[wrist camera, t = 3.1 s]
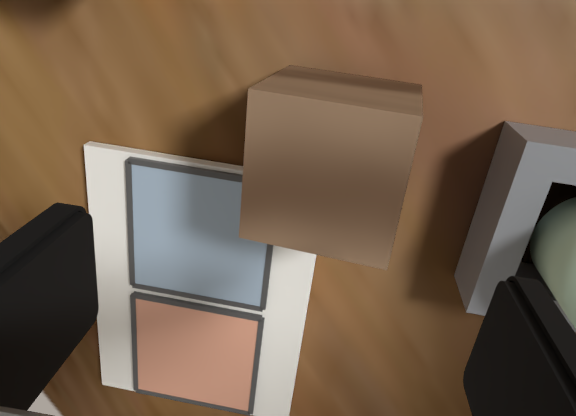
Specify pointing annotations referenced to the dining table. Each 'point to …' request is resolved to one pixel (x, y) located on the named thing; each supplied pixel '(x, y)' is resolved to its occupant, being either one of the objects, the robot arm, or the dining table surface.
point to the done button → (558, 254)
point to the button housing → (512, 209)
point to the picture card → (191, 285)
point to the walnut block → (328, 162)
